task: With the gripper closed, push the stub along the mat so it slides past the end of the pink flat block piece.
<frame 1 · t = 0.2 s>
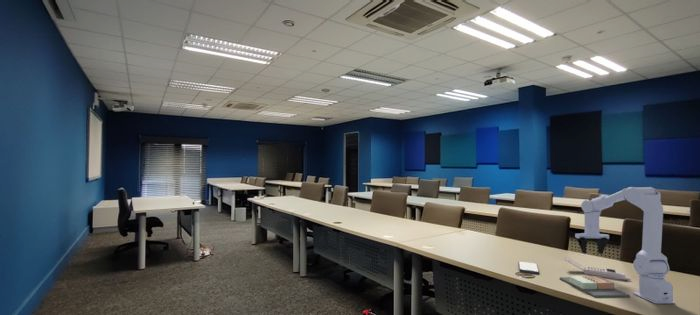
hand: (592, 253, 153), 10 cm above the table, tool pointing down, fingers open, 7 cm apart
pink flat block piece: (598, 287, 136), resting on mat
mat: (592, 287, 136), on the table
light grey long piece: (595, 275, 152), on the table
phone case: (528, 269, 160), on the table
stub: (582, 282, 136), point 2 cm above the table, slide at 0.0 cm
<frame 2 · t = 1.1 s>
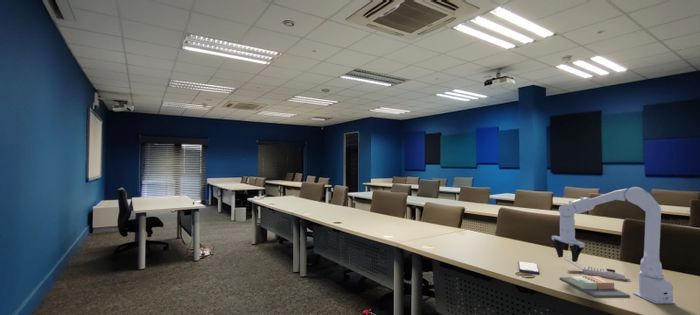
hand: (567, 259, 145), 9 cm above the table, tool pointing down, fingers open, 6 cm apart
nothing on the table moved.
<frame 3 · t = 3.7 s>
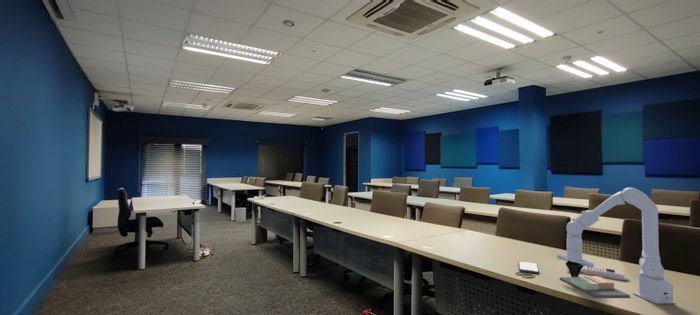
hand: (574, 279, 140), 2 cm above the table, tool pointing down, fingers closed
stub: (584, 283, 135), point 2 cm above the table, slide at 0.8 cm, touching gripper
everything else where it was.
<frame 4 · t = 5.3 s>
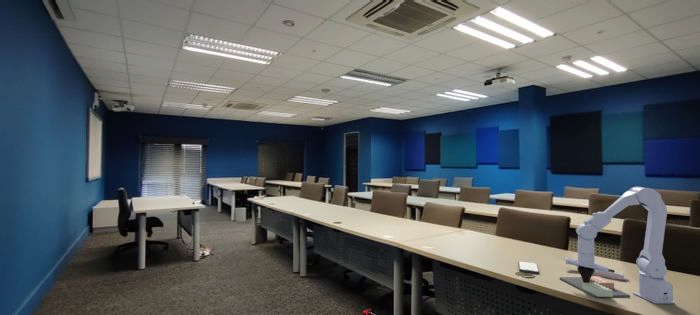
hand: (586, 285, 134), 2 cm above the table, tool pointing down, fingers closed
stub: (597, 289, 128), point 2 cm above the table, slide at 7.6 cm, touching gripper
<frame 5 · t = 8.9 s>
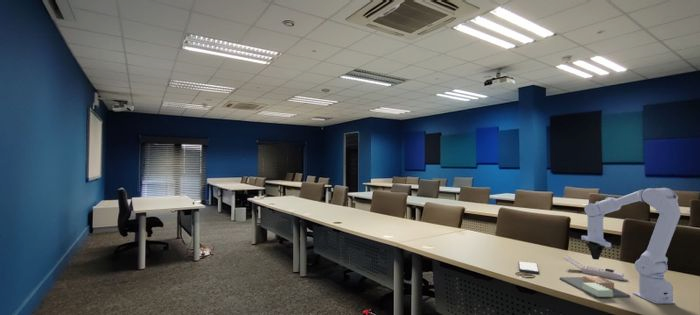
hand: (595, 259, 145), 9 cm above the table, tool pointing down, fingers closed
stub: (597, 289, 128), point 2 cm above the table, slide at 7.6 cm
at the end: stub slide at 7.6 cm; the gripper is holding nothing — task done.
